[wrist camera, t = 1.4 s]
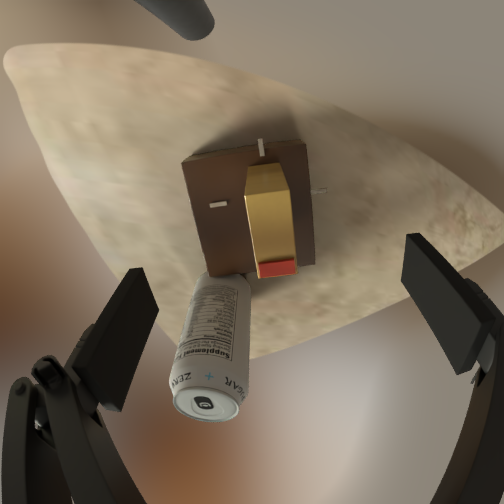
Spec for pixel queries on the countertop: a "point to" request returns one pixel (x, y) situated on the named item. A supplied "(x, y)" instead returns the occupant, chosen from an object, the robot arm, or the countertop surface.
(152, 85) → the countertop surface
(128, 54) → the countertop surface
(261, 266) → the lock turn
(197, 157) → the plate
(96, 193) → the countertop surface
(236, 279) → the energy drink can
